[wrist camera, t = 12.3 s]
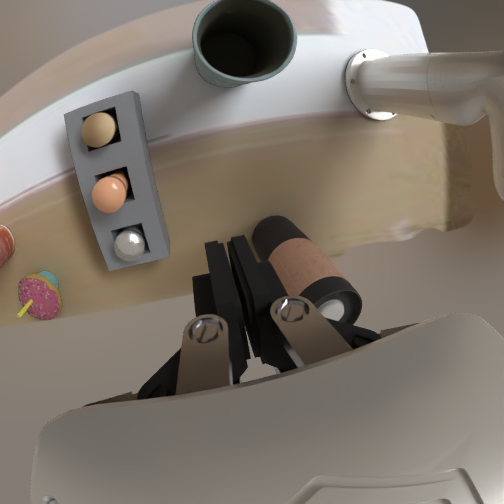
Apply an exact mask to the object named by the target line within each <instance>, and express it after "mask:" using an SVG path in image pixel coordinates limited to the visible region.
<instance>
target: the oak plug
mask: <svg viewBox="0 0 504 504" xmlns="http://www.w3.org/2000/svg"><path fill="white" fill-rule="evenodd" d="M119 132H120V131H119V126H118V120H117V117H116V116H110V115H109V114H107V113H95V114H92V115H91V116H89V117H88V118H87V119H86V120H85V122H84V123H83V126H82V131H81V134H82V138H83V140H84V142H85V143H86V144H87V145H89V146H91V147H101V146H103V145H105V144H107V143H109V142H110V141H111V140H112V138H114V137H116V136H117V135H118V134H119Z"/></svg>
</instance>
